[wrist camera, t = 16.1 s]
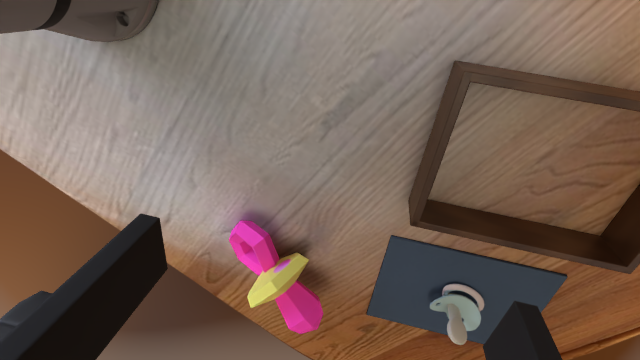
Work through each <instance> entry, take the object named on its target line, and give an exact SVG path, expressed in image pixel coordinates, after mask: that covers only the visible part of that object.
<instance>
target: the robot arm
mask: <svg viewBox="0 0 640 360" xmlns="http://www.w3.org/2000/svg"><path fill="white" fill-rule="evenodd" d="M157 3H158V0H0V34H2V33H11V32H21V31H29V30H40V29H45V30H49V31H53V32H57V33H61V34H65V35H69V36H73V37H77V38H81V39H85V40H90V41H100V42H111V41H118V40H124V39H127V38H130V37H133V36H134V35H136V34H138V33H139V32H140V31H142V30H143V29H144V28H145V27H146V26H147V24H148V23H149V21H150V20H151V18H152V16H153V14H154V12H155V9H156V6H157ZM166 270H167V262H166V256H165V250H164V243H163V237H162V231H161V224H160V218H157V217H153V216H149V215H145V214H140V215H139V216H138V217H136V218H135V219H134V220H133V221H132V222H131V223H130V224H129V225H128V226H126V227H125V228H124V229H123V230H122V231H121V232H120V233H119V234H118V235H117V236H116V237H114V238H113V239H112V240H111V241H110V242H109V243H108V244H107V245H105V247H104V248H102V249H101V250H100V251H99V252H98V253H97V254H96V255H94V256H93V257H92V258H91V259H90V260H89V261H88V262H87V263H86V264H85V265H83V266H82V267H81V268H80V269H79V270H78V271H77V272H76V273H75V274H74V275H72V276H71V277H70V278H69V279H68V280H67V281H66V282H65V283H64V284H63V285H61V286H60V287H59V288H58V289H57V290H56V291H55V292H54V293H53V294H52V293H48V292H44V291H40V292H38V293H36V294H34V295H32V296H31V297H29V298H27V299H25V300H23V301H21V302H20V303H18V304H17V305H16V306H15V307H13V308H12V309H11V310H10V311H9V312H8V313H6V314H5V315H4V316H3V317H2V318H1V319H0V360H96V359H97V357H98V356H99V355H100V354H101V352H102V351H103V350H104V348H105V347H106V346H107V345H108V344H109V342H110V341H111V340H112V338H113V337H114V336H115V335H116V333H117V332H118V331H119V330H120V328H121V327H122V326H123V324H124V323H125V322H126V321H127V319H128V318H129V317H130V316H131V314H132V313H133V312H134V311H135V309H136V308H137V307H138V305H139V304H140V303H141V302H142V301H143V299H144V298H145V297H146V295H147V294H148V293H149V292H150V290H151V289H152V288H153V287H154V285H155V284H156V283H157V282H158V280H159V279H160V278H161V276H162V275H163V274H164V273H165V271H166ZM483 349H484V353H485V357H486V360H562V358H561V356H560V353H559V351H558V349H557V347H556V345H555V343H554V341H553V339H552V336H551V334H550V332H549V330H548V328H547V326H546V324H545V321H544V319H543V317H542V315H541V313H540V311H539V309H538V306H535V305H531V304H526V303H522V302H518V301H514V302H513V303H512V305H511V306H510V308H509V309H508V311H507V312H506V314H505V315H504V317H503V318H502V319H501V321H500V322H499V324H498V325H497V327H496V328H495V330H494V331H493V332H492V334H491V335H490V337H489V338H488V340H487V341H486V343H485V344H484V345H483Z"/></svg>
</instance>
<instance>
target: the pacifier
mask: <svg viewBox="0 0 640 360" xmlns="http://www.w3.org/2000/svg"><path fill="white" fill-rule="evenodd" d="M455 290H457V291H463V292H466V293H468V294H470V295H471V296H472V297H474V298H475V300H476V301H477V304H476V305H475V303H474V302H473V301H471V300H470V299H469V298H467V297H465V296H462V295H458V294H454V293H449V292H451V291H455ZM442 295H443V296H442V297H440V298H438V299H436V300H434V301H433V302H431V304H430V309H432V310H434V311H440V312H446V314H447V317H448V319H449V322H448V324H447V333H448V336H449V337H450V339H451V340H452V341H453V342H454V343H456V344H458V345H463V344H465V342H466V340H467V331H473V330H475V329H476V328H477V327H478V326H479V325H480V322H481V315H480V311H481V310H483V308H484V300H483V298H482V297H481V295H480V294H479V293H478V292H476V291H475V290H474V289H472V288H470V287H468V286H465V285H461V284H449V285H447V286H445V287H444V288H443V291H442ZM437 303H440V304H437ZM436 304H437V305H436ZM462 318H463V319H464V321H463V322H462Z"/></svg>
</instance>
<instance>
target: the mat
mask: <svg viewBox="0 0 640 360" xmlns="http://www.w3.org/2000/svg"><path fill="white" fill-rule="evenodd" d="M566 278H567V275H565V274H561V273H556V272H552V271H548V270H543V269H539V268H534V267H530V266H525V265H521V264H517V263H512V262H508V261H503V260H499V259H494V258H490V257H486V256H481V255H477V254H472V253H468V252H463V251H459V250H455V249H450V248H446V247H441V246H437V245H432V244H428V243H424V242H419V241H415V240H410V239H406V238H401V237H397V236H393V235H391V238H390V241H389V244H388V247H387V251H386V254H385V257H384V260H383V263H382V266H381V269H380V273H379V276H378V279H377V282H376V285H375V288H374V291H373V295H372V298H371V301H370V304H369V307H368V310H367V315H370V316H374V317H378V318H382V319H386V320H390V321H394V322H398V323H402V324H406V325H410V326H414V327H418V328H421V329H425V330H429V331H433V332H437V333H441V334H445V335H448V333H447V324H448V322H449V319H448V317H447V314H446V312H440V311H434V310H432V309H430V304H431V302H433V301H434V300H436V299H438V298H440V297H442V296H443V295H442V291H443V288H444V287H445V286H447V285H449V284H461V285H465V286H468V287H470V288H472V289H474V290H475V291H476V292H478V293H479V294H480V295H481V297H482V298H483V300H484V308H483V310H481V311H480V315H481V322H480V325H479V326H478V327H477V328H476V329H475V330H473V331H467V340H469V341H473V342H477V343H481V344H485V343H486V341H487V340H488V338H489V337H490V335H491V334H492V332H493V331H494V330H495V328H496V327H497V325H498V324H499V322H500V321H501V319H502V318H503V317H504V315H505V314H506V312H507V311H508V309H509V308H510V306H511V305H512V303H513V302H514V301H518V302H522V303H526V304H531V305H535V306H538V309H539V311H540V313H541V312H542V311H543V309H544V308H545V307H546V305H547V304H548V303H549V301H550V300H551V298H552V297H553V296H554V294H555V293H556V292H557V290H558V289H559V288H560V286H561V285H562V284H563V282H564V281H565V280H566ZM449 293H454V294H458V295H462V296H465V297H467V298H469V299H470V300H471V301H473V302H474V303H475V305H476V304H477V301H476V300H475V298H474V297H472V296H471V295H470V294H468V293H466V292H463V291H457V290H455V291H451V292H449ZM437 304H440V303H437ZM437 304H436V305H437ZM463 321H464V319H463V318H462V322H463Z"/></svg>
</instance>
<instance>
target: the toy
mask: <svg viewBox="0 0 640 360" xmlns="http://www.w3.org/2000/svg"><path fill="white" fill-rule="evenodd" d="M229 241H230V243H231V245H232V247H233V249H234V251H235V253H236V255H237V257H238V259H239V260H240V261H241V262H242V263H244V264H245V265H246V266H247V267H248V268H250V269H251V270H252V271H253V272H255V273H256V274H257V275H258V276H259V277H258V279H257V280H256V282H255V283H254V285H253V287H252V288H251V290H250V292H249V294H248V297H247V298H248V301H249V304H250V307H251V308H253V307H255V306H258V305H261V304H263V303H266V302H268V301H271V300H274V299H275V300H276V302H277V304H278V307H279V309H280V311H281V313H282V315H283V317H284V319H285V321H286V324H287V326H288V328H289V329H290V330H292V331H294V332H297V333H299V334H302V333H306V332H309V331H313V330H316V329H318V327H319V324H320V321H321V319H322V316H323V311H322V308H321V304H320V301H319V297H318V296H317V295H315V294H314V293H313V292H312V291H310V290H309V289H308V288H307V287H305V286H304V285H303V284H302V283H300V282H299V281H298V280H297V279H298V277H299V275H300V274H301V272H302V271H303V269H304V267H305V266H306V264H307V263H308V261H309V260H308V259H307V258H305V257H304V256H302V255H301V254H299V253H294V254H291V255H289V256H286V257H284V258H281V259H279V256H278V254H277V252H276V249H275V247H274V244H273V242H272V240H271V237H270V235H269V234H268V233H267V232H266V231H264V230H263V229H262V228H260V227H259V226H258V225H256V224H255V223H253V222H252V221H242V220H240V222H239V223H238V224H237V225H236V226H235V228H234V229H233V230H232V232H231V235H230V238H229Z"/></svg>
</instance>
